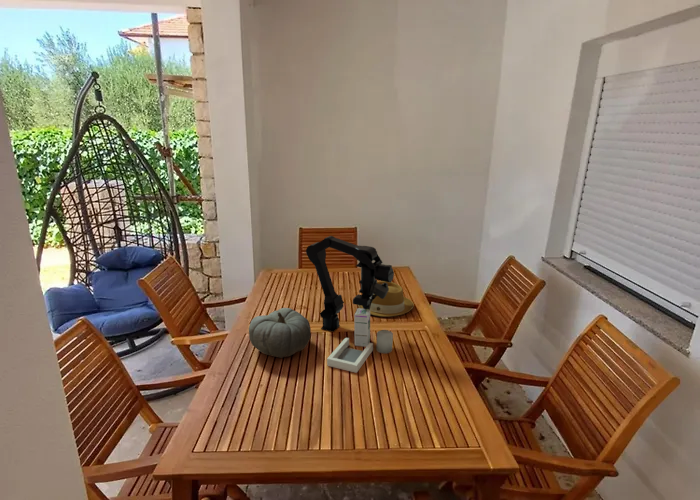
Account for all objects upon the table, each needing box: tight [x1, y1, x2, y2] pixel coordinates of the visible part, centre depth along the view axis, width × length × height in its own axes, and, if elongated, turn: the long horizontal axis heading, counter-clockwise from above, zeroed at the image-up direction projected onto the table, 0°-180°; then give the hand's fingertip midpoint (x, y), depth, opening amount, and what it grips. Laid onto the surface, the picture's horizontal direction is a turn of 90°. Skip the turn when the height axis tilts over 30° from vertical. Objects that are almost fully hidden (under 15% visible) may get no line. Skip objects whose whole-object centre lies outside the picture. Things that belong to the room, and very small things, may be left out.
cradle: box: [326, 337, 374, 374], centre depth 160 cm, size 12×18×3 cm
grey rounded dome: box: [375, 329, 394, 354], centre depth 165 cm, size 6×6×7 cm
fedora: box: [357, 280, 415, 318], centre depth 204 cm, size 27×29×12 cm
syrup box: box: [353, 307, 371, 348], centre depth 169 cm, size 6×6×14 cm
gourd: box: [248, 307, 312, 359], centre depth 165 cm, size 25×25×17 cm
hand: (367, 312), depth 173 cm, fingers closed
